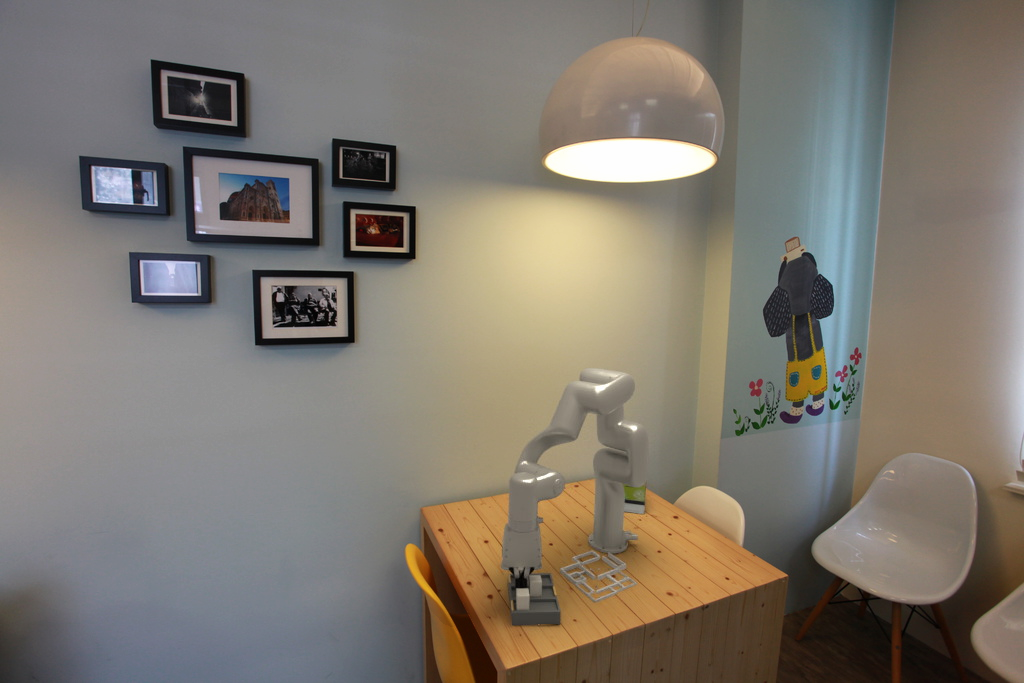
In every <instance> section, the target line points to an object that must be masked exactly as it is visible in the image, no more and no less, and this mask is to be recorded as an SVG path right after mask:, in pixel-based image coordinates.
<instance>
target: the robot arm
mask: <svg viewBox="0 0 1024 683" xmlns="http://www.w3.org/2000/svg"><path fill="white" fill-rule="evenodd" d="M635 388H636V382H635V379H634V378H633V376H632V375H631V374H629V373H627V372H624V371H623V372H622V371H619V370H618V371H617V370H610V369H605V368H604V369H603V368H598V367H588V368H587V367H586V368H584V369H583V370H581V372H580V374H579V380H573V381H570V382H569V383H568V384H567V385H566V386H565V388H564V390H563V392H562V394H561V397H560V400H559V401H558V404H557V406H556V409H555V411H554V414H553V416H552V418H551V421H550V423H549V425H548V426H547V427H546V428H545V429H543V430H542V431H540V432H538V433H537V434H536V435H534V437H533V438H532V439H530V440H529V441H528V442H527V444H526V445H524V448H523V450H522V451H521V453H520V456H519V459H518V460H517V463H516V465H515V470H514V474H511V476H510V478H509V479H508V480H509V482H508V510H507V514H508V515H507V518H508V519H507V523H506V524H504V530H503V535H502V544H501V546H502V547H501V563H500V569H501V570H503V571H509V572H510V574H513V575H514V576H515V588H518V589H524V588H527V578H528V577H529V575H530V574H531V573H533V572H534V571H539V570H542V569H543V564H542V560H543V558H542V556H543V553H542V552H543V549H542V548H543V547H542V545H543V544H542V536H541V534H542V533H541V532H542V531H541V526H540V524H543V523H544V517H541V516H539V514H538V513H539V512H538V511H539V502H541V501H548V500H549V501H550V500H553V499H556V498H558V497H559V496H561V494H563V492H564V490H565V486H566V479H565V477H564V475H563V474H562V473H561V472H559V471H558V470H555V469H553V468H550V467H547V466H545V465H542V464H540V463H539V464H538V461H539V460H540V458H541V457H542V455H543V454H544V453H545V452H546V451H548V450H549V449H551V448H553V447H556V446H560V445H563V444H568V443H572V442H574V441H576V440H577V439H578V438H579V435H580V433H581V431H582V427H583V425H584V422H585V420H586V418H587V416H588V414H593V415H596V434H597V435H596V436H597V440H598V442H599V443H600V445H602V446H604V447H603V448H600V449H598V450H596V452H595V453H594V456H593V459H592V467H593V473H594V484H595V485H594V504H593V505H594V508H593V529H592V530H593V532H591V534H589V536H588V537H587V542H588V545H589V546H590V547H591V548H592V549H594V550H596V551H598V552H601V553H603V554H608V552H609V553H611V554H612V555H614V554H619V553H622V552H624V551H626V550H627V548H628V542H629V541H638V540H639V538H638V534H637V533H632V531H631V530H626V531H625V530H624V521H625V520H624V519H625V515H624V514H625V511H624V502H625V491H624V487H623V485H622V484H625V485H628V486H632V487H641V486H643V485H644V484H645V482H646V480H648V476H649V434H648V432H647V429H646V427H644V426H643V424H641V423H639V422H636V421H632V420H631V421H630V420H627V419H626V418H625V412H624V410H625V409H624V404H625V403H627V402H628V401H629V400H630V399H632V396H633V395H634V393H635ZM646 483H647V482H646ZM518 567H524V568H523V571H522V573H520V571H519V569H518Z"/></svg>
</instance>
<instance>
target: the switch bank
mask: <svg viewBox="0 0 1024 683" xmlns="http://www.w3.org/2000/svg"><path fill="white" fill-rule="evenodd" d="M530 575H541V580H542V596H541V597H529V610H517V608H516V589H518V588H515V576H514V575H513V574H512V573H507V589H508V590H507V591H508V592H507V593H508V601H509V602H508V603H509V611H510V612H509V613H510V622H511V623H510V624H511V626H542V625H541V624H558V625H561V615H562V611H561V607H560V603H559V599H558V595H557V590H556V587H555V583H554V580H553V575H552V572H543V573H542V572H534V573H533V572H532V573H531V574H530ZM527 588H528V590H529V577H528V582H527ZM524 589H525V588H524ZM529 596H530V595H529ZM538 624H540V625H538Z"/></svg>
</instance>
